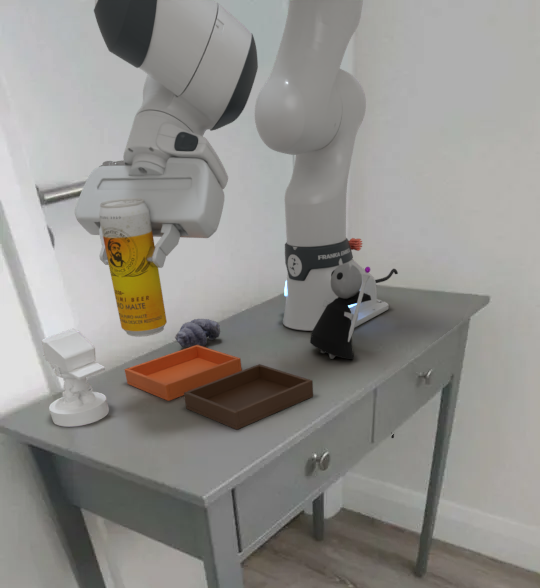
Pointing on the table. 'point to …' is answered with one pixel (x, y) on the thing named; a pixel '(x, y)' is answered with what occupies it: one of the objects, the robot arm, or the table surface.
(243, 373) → the walnut tray
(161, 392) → the can tray
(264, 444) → the table surface
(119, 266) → the beer can
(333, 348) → the toy
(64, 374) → the character figurine
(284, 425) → the table surface
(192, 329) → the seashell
